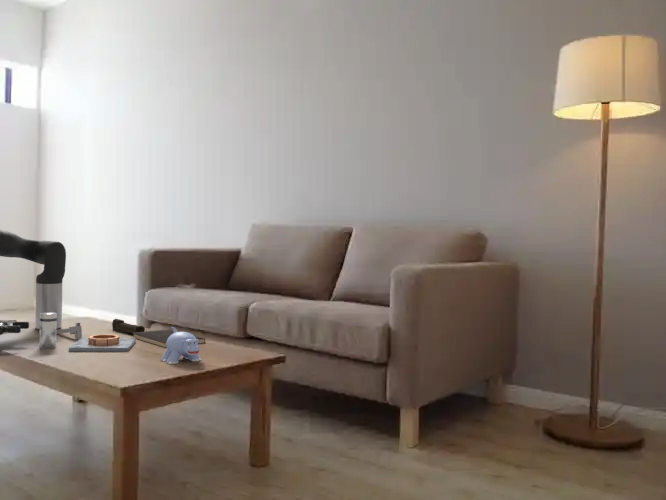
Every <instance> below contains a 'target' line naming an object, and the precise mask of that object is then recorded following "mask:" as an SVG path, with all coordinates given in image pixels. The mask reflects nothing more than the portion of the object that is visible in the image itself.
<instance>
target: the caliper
mask: <svg viewBox="0 0 666 500" xmlns="http://www.w3.org/2000/svg"><path fill="white" fill-rule="evenodd" d="M82 332H83V331H82V325H81V322H75V325H74V326H70V327H69V328H59V329H57V335H59V334H60V335H61V334H68V333H69V335H74V338H75V340H76V341H78V340H79V339H81V338H83V337H82V336H83V334H82Z"/></svg>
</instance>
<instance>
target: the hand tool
mask: <svg viewBox="0 0 666 500" xmlns="http://www.w3.org/2000/svg"><path fill="white" fill-rule="evenodd" d="M111 325H112V326H111V327H112V330H113V331H115V332H117V333H118V332H121V333H122V332H123V333H127V334H131V335H133V336H134V334H132V333H134V332H146V331H145V326H142V325H138V324H137V325H136V324H131V323H128V322H125V320H123V319H118V318H114V319H113V320H112V323H111Z"/></svg>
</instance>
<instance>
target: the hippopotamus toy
mask: <svg viewBox="0 0 666 500" xmlns="http://www.w3.org/2000/svg"><path fill="white" fill-rule="evenodd" d="M170 329H172V330H173V332H174V333H173V334H172V335H170V337H169V338H168V339H167V342H166V347H165V348H166V349H165V351H164V353H163V354H162V355H161V358H160V361H161V362H164V363H165V362H166V364H169V365H177V364H179V363H180V361H179V360H180V358H181V356H182V357H183V359H185V360H188V361H191V362H201V361H203V359H202V358H200V355H199V354H200V350H201V349H200V346H199V343H198V342H199V340H198V339H196V337H195V336H196V335H193V333H191V332H189V331H188V332H186V331H180V332H177V331H178V330H177V328H176V327H175V326H170Z"/></svg>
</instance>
